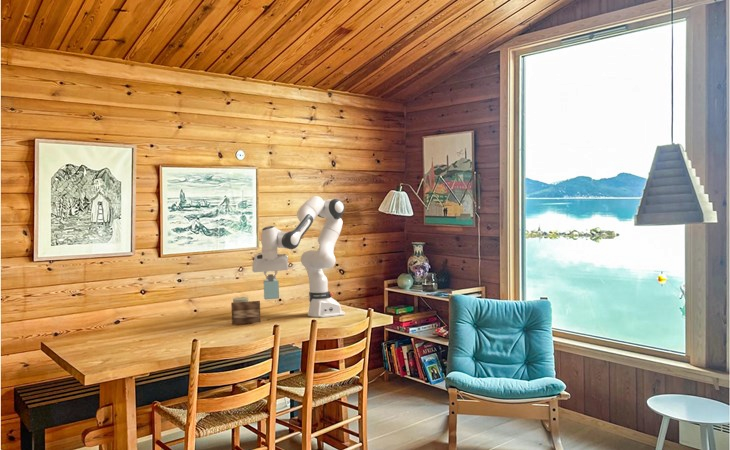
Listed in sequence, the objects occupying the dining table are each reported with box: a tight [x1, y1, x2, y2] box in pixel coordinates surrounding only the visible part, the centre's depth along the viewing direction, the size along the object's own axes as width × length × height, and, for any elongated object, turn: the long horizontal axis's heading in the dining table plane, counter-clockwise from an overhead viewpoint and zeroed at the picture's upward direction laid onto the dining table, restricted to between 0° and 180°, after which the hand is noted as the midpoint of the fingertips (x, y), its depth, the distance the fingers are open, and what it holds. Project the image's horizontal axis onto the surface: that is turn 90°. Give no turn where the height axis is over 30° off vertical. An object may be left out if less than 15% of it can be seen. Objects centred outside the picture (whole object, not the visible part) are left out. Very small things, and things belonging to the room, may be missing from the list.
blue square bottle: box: [263, 273, 280, 300], centre depth 335 cm, size 8×9×14 cm
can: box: [232, 296, 249, 303], centre depth 352 cm, size 9×9×12 cm
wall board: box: [230, 300, 261, 325], centre depth 334 cm, size 16×6×12 cm, turn 105°
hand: (270, 279), depth 333 cm, fingers closed on blue square bottle, 2 cm apart
